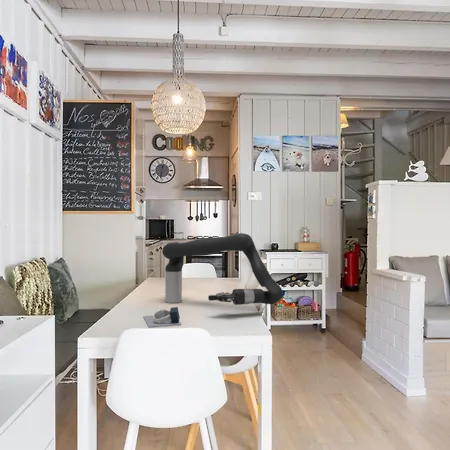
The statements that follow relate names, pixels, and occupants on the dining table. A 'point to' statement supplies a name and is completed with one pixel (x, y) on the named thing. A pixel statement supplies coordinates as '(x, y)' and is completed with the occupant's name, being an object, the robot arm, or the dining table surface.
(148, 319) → the mat
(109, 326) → the dining table surface
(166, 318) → the watch
